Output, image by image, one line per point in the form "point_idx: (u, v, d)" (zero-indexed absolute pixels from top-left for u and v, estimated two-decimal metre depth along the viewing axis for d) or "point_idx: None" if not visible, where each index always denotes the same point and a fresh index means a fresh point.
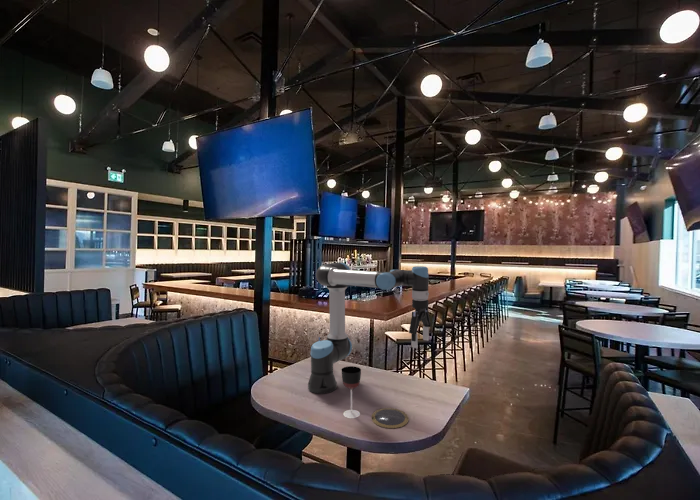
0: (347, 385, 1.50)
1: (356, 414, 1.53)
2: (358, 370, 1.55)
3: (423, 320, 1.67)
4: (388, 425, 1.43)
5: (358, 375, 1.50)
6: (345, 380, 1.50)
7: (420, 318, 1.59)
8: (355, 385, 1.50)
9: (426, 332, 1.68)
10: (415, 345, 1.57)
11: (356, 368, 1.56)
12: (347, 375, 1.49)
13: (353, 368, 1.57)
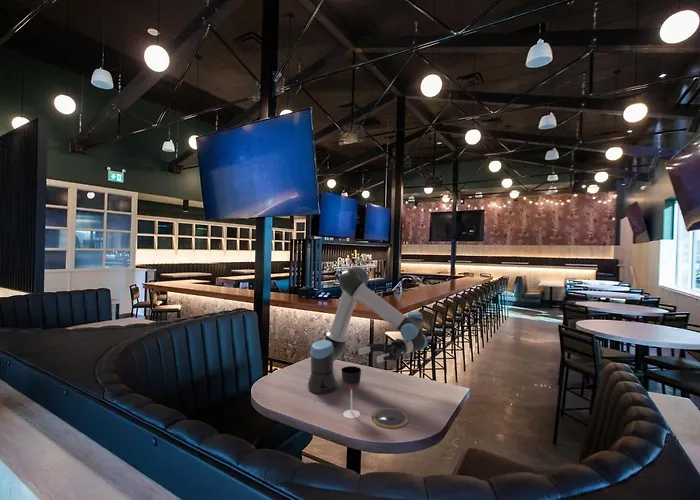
0: (347, 385, 1.50)
1: (356, 414, 1.53)
2: (358, 370, 1.55)
3: (378, 348, 1.68)
4: (388, 425, 1.43)
5: (358, 375, 1.50)
6: (345, 380, 1.50)
7: None
8: (355, 385, 1.50)
9: (366, 351, 1.66)
10: (379, 361, 1.53)
11: (356, 368, 1.56)
12: (347, 375, 1.49)
13: (353, 368, 1.57)
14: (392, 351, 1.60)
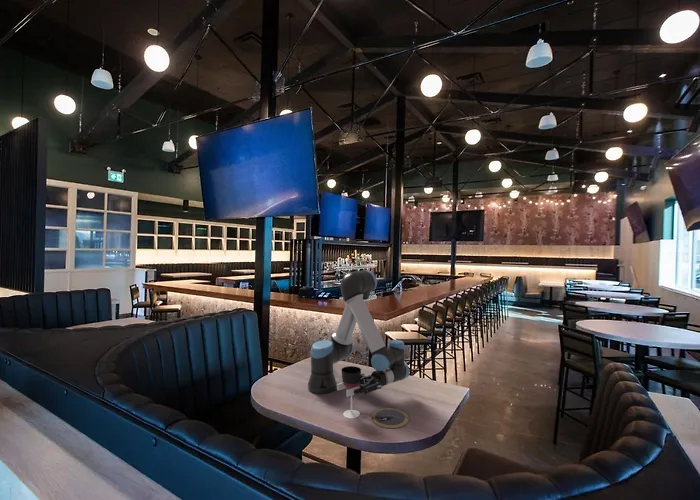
0: (347, 385, 1.50)
1: (356, 414, 1.53)
2: (358, 370, 1.55)
3: None
4: (388, 425, 1.43)
5: (358, 375, 1.50)
6: (345, 380, 1.50)
7: None
8: (355, 385, 1.50)
9: (345, 386, 1.55)
10: (349, 394, 1.48)
11: (356, 368, 1.56)
12: (347, 375, 1.49)
13: (353, 368, 1.57)
14: (366, 383, 1.54)
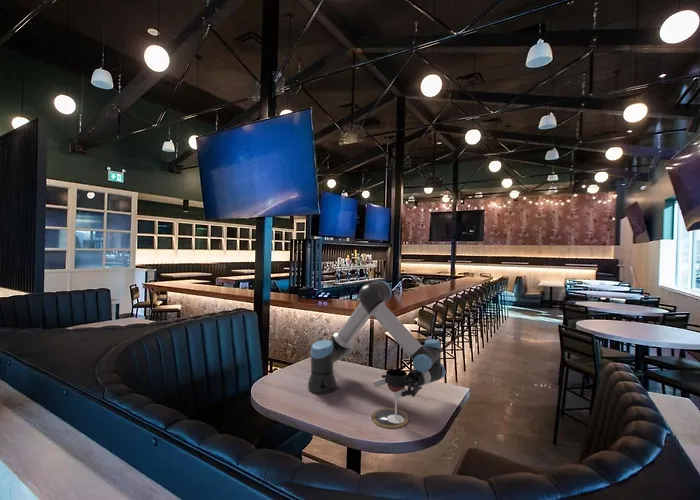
0: (393, 388, 1.45)
1: (401, 419, 1.47)
2: (403, 373, 1.50)
3: None
4: (388, 425, 1.43)
5: (405, 378, 1.45)
6: (391, 383, 1.45)
7: (411, 388, 1.52)
8: (401, 389, 1.45)
9: (381, 383, 1.55)
10: (397, 397, 1.42)
11: (400, 371, 1.51)
12: (394, 378, 1.44)
13: (397, 371, 1.51)
14: (410, 385, 1.49)
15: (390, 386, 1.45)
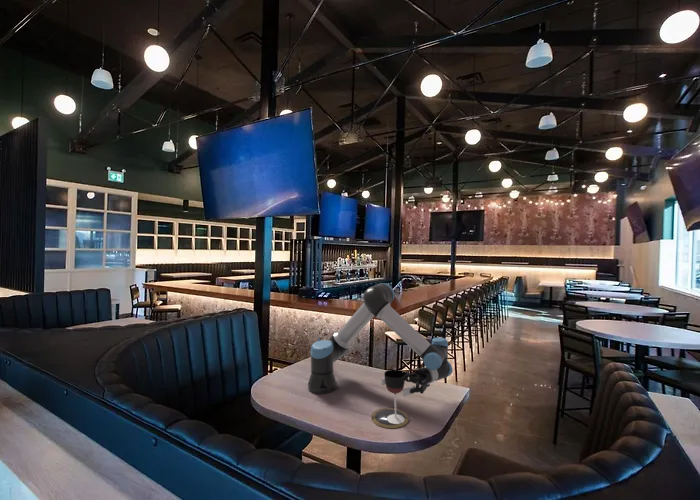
0: (391, 390, 1.44)
1: (401, 419, 1.47)
2: (401, 373, 1.49)
3: None
4: (388, 425, 1.43)
5: (403, 379, 1.44)
6: (389, 385, 1.44)
7: (419, 385, 1.54)
8: (400, 390, 1.44)
9: None
10: (406, 394, 1.44)
11: (399, 371, 1.50)
12: (392, 379, 1.43)
13: (396, 371, 1.50)
14: (418, 382, 1.51)
15: (389, 387, 1.44)
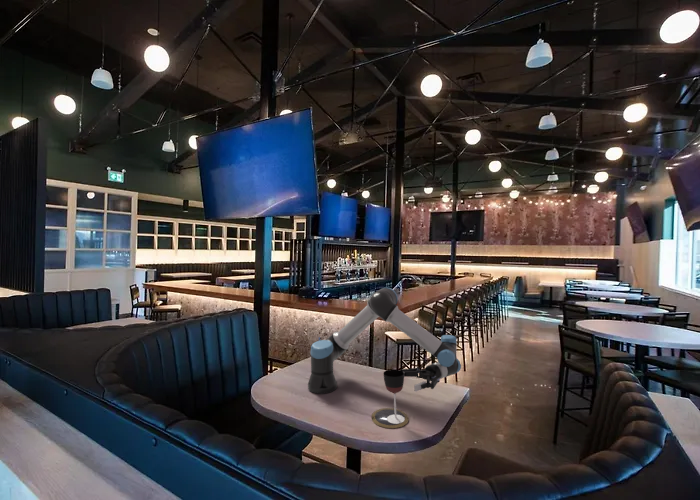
0: (391, 389, 1.44)
1: (401, 419, 1.47)
2: (400, 373, 1.49)
3: (412, 373, 1.63)
4: (388, 425, 1.43)
5: (402, 378, 1.44)
6: (388, 384, 1.44)
7: None
8: (399, 389, 1.44)
9: None
10: (417, 389, 1.49)
11: (398, 371, 1.50)
12: (391, 379, 1.43)
13: (395, 371, 1.51)
14: (428, 378, 1.56)
15: (388, 387, 1.45)
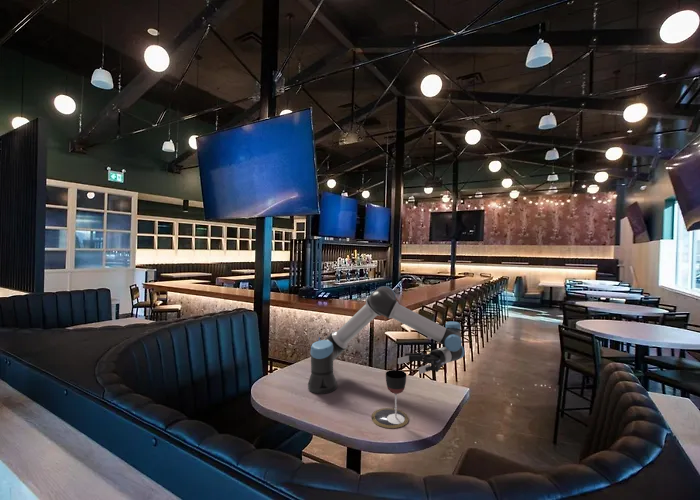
0: (392, 390, 1.43)
1: (401, 419, 1.47)
2: (402, 374, 1.48)
3: (417, 358, 1.67)
4: (388, 425, 1.43)
5: (404, 380, 1.43)
6: (390, 385, 1.43)
7: None
8: (401, 390, 1.43)
9: (405, 360, 1.65)
10: (422, 371, 1.52)
11: (400, 372, 1.49)
12: (393, 380, 1.42)
13: (397, 372, 1.50)
14: (433, 362, 1.59)
15: (389, 388, 1.44)
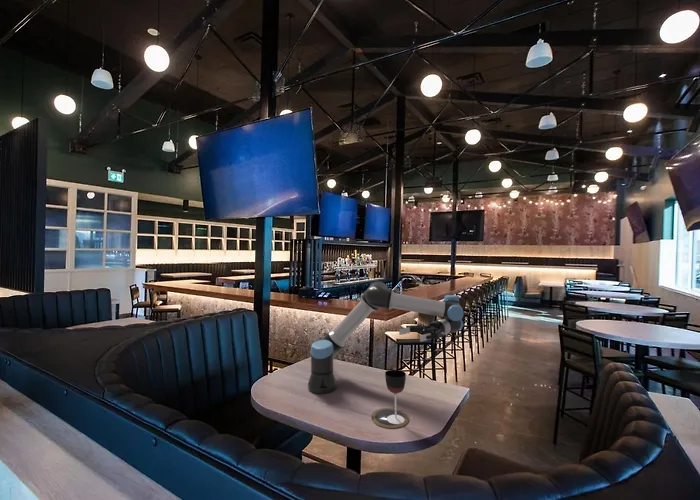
0: (392, 390, 1.44)
1: (401, 419, 1.47)
2: (402, 374, 1.49)
3: (417, 329, 1.73)
4: (388, 425, 1.43)
5: (404, 379, 1.44)
6: (390, 384, 1.44)
7: None
8: (400, 389, 1.44)
9: (406, 331, 1.71)
10: (422, 339, 1.59)
11: (399, 371, 1.50)
12: (392, 379, 1.43)
13: (397, 371, 1.51)
14: (433, 331, 1.65)
15: (389, 387, 1.45)
